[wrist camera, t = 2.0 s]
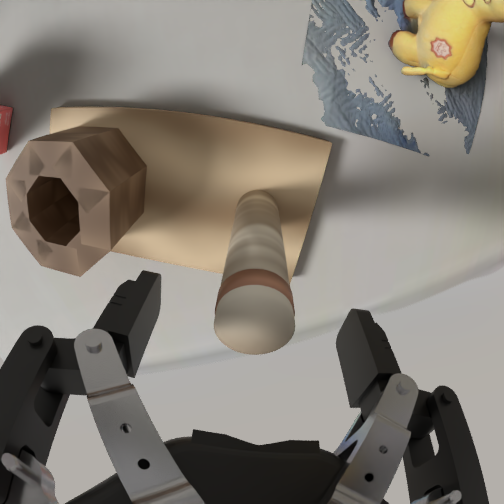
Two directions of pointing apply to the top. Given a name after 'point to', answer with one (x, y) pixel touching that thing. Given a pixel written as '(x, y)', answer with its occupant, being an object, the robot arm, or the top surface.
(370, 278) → the top surface
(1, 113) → the ink cartridge box
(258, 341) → the needle dowel
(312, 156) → the oak board
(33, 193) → the walnut bead
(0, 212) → the top surface
